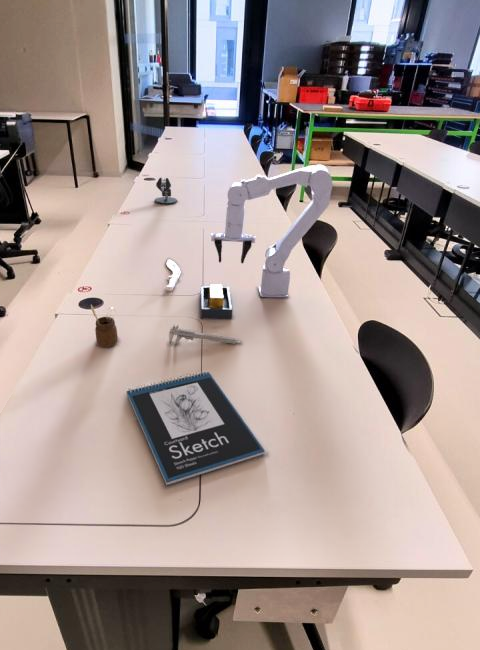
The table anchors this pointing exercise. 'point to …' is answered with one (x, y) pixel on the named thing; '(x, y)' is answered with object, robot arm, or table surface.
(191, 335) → the caliper
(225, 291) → the case
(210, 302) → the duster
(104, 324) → the utensil holder
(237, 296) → the table surface
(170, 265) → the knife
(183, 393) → the sketchbook
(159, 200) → the dark grey upright piece
